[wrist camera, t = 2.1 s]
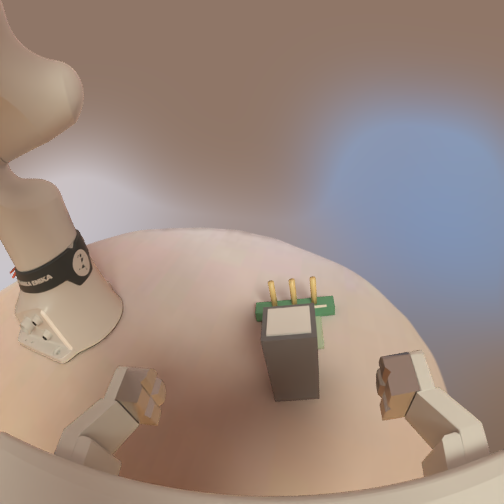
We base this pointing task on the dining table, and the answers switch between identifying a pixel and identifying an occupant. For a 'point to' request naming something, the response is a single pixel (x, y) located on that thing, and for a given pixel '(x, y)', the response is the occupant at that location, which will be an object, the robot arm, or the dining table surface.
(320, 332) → the pad
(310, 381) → the block
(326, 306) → the header strip
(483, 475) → the robot arm
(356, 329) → the dining table surface
